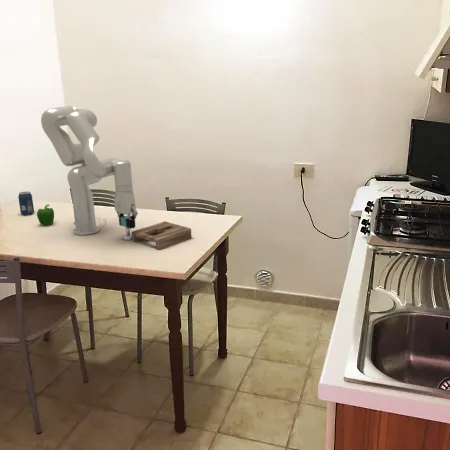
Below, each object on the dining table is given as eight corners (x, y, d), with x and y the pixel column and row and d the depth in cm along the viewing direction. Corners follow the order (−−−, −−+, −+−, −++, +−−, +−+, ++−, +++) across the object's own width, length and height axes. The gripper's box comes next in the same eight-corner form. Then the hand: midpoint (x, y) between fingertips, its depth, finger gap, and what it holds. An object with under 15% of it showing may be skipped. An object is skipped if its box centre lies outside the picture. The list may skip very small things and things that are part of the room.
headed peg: (120, 239, 232) (118, 217, 229) (129, 236, 236) (127, 214, 233) (127, 241, 229) (125, 219, 226) (136, 238, 233) (134, 216, 229)
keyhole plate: (132, 241, 229) (131, 231, 228) (165, 230, 243) (164, 221, 242) (158, 249, 218) (157, 240, 216) (191, 237, 232) (191, 228, 230)
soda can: (25, 212, 279) (21, 191, 276) (36, 212, 278) (33, 191, 275) (18, 215, 273) (15, 194, 269) (30, 216, 272) (27, 194, 268)
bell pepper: (42, 228, 251) (39, 208, 248) (36, 224, 257) (33, 205, 254) (58, 224, 257) (56, 205, 253) (52, 220, 262) (49, 202, 259)
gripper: (105, 187, 228) (109, 224, 234) (129, 192, 217) (132, 232, 222) (119, 183, 233) (122, 221, 239) (143, 189, 222) (146, 228, 228)
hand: (127, 226), depth 231 cm, fingers open, 6 cm apart
